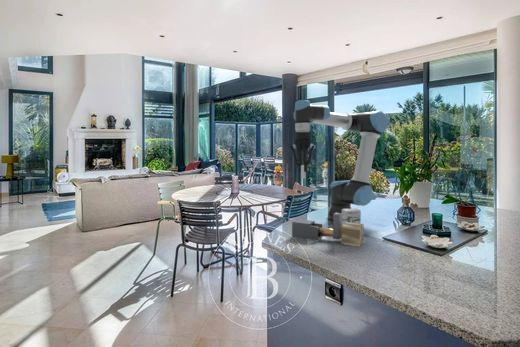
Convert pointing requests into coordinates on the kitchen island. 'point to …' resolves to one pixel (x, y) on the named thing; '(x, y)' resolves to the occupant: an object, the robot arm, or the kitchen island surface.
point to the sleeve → (305, 229)
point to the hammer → (336, 230)
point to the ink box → (351, 216)
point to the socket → (352, 234)
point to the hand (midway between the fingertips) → (303, 178)
